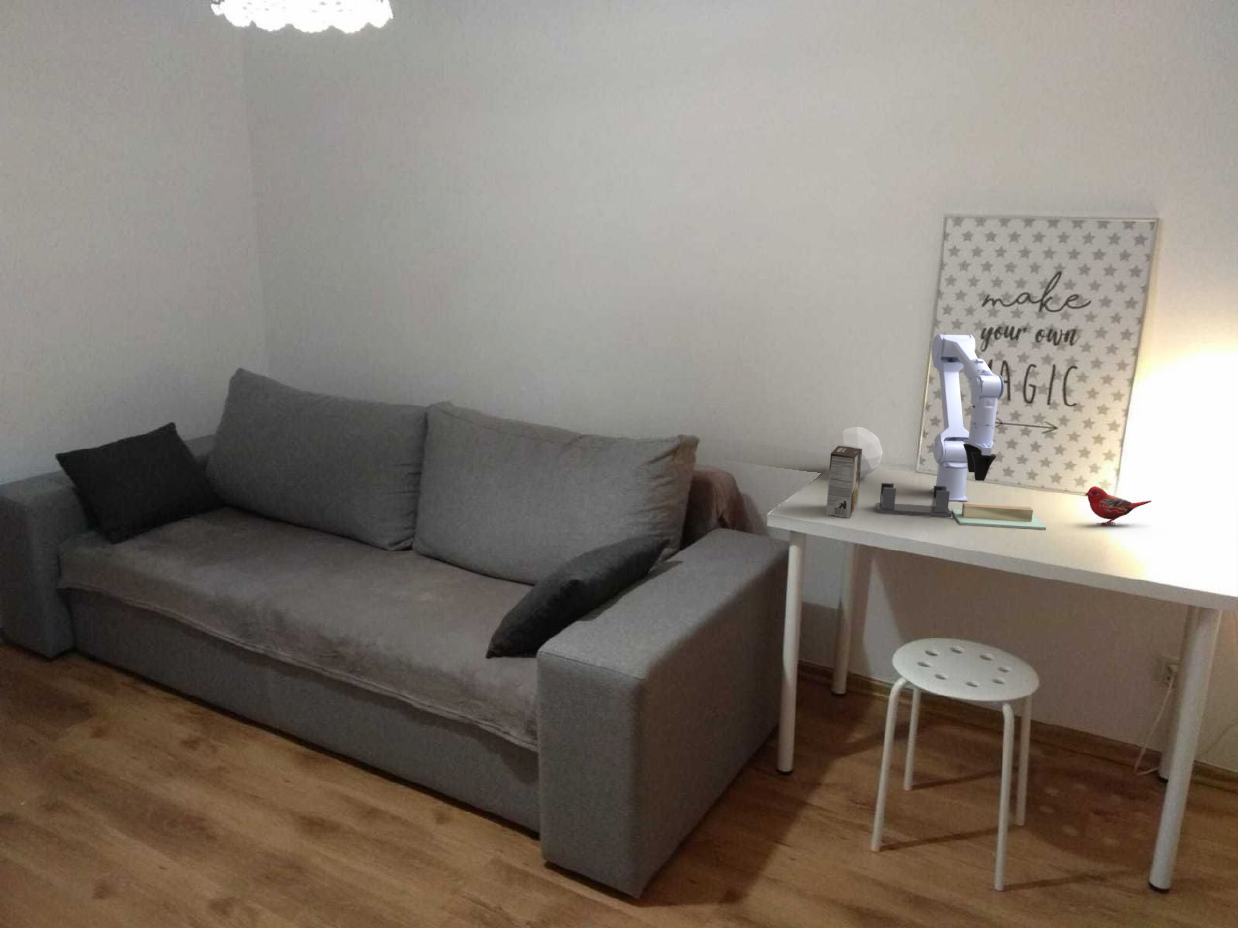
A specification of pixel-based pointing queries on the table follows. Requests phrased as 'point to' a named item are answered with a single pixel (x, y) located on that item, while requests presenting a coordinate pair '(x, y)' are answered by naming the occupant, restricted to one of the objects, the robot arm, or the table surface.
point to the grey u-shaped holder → (937, 508)
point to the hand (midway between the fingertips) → (976, 476)
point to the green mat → (998, 522)
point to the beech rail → (997, 512)
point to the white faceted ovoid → (860, 447)
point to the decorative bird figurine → (1109, 505)
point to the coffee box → (844, 481)
